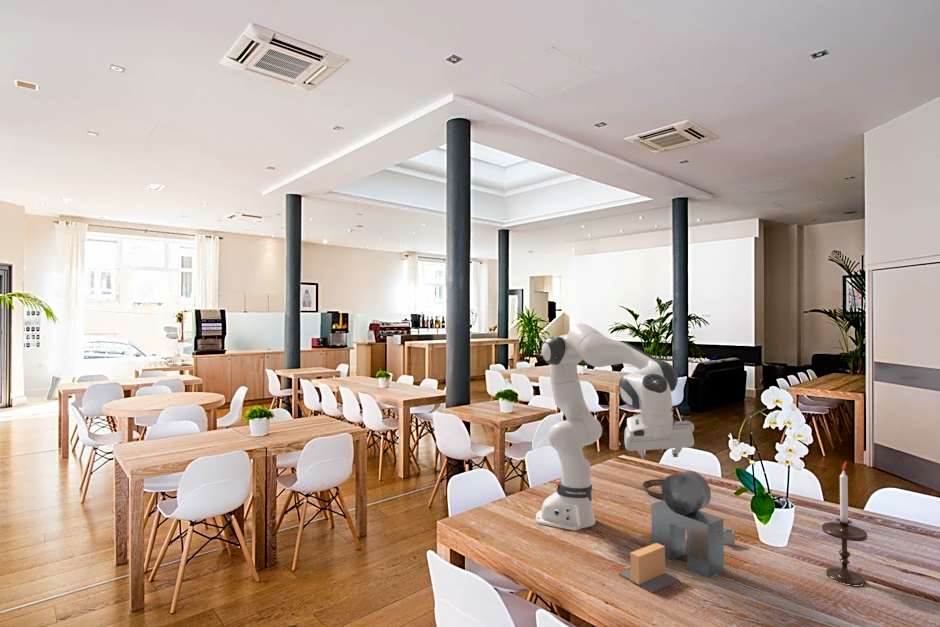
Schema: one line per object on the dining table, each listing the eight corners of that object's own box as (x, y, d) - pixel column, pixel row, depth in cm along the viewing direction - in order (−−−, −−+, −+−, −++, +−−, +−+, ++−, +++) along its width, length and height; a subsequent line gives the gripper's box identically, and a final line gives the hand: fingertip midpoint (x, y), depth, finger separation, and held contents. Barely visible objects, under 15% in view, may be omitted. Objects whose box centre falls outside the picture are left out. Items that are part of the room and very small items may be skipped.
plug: (638, 584, 147) (638, 556, 147) (630, 580, 150) (630, 552, 150) (665, 572, 154) (664, 546, 154) (656, 568, 156) (656, 542, 156)
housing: (708, 578, 151) (707, 484, 151) (651, 552, 168) (651, 467, 168) (723, 571, 156) (722, 479, 156) (667, 546, 172) (666, 463, 173)
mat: (652, 593, 144) (652, 591, 144) (619, 575, 154) (619, 573, 154) (678, 580, 150) (678, 579, 150) (645, 564, 160) (645, 562, 160)
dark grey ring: (636, 495, 222) (636, 488, 222) (649, 482, 239) (649, 475, 239) (686, 505, 210) (686, 497, 210) (696, 491, 227) (696, 483, 227)
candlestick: (877, 584, 147) (876, 463, 147) (849, 590, 144) (848, 467, 144) (840, 567, 158) (839, 454, 158) (813, 572, 155) (812, 457, 155)
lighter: (734, 543, 174) (733, 520, 174) (735, 545, 173) (734, 522, 173) (711, 540, 177) (711, 517, 177) (712, 542, 175) (711, 519, 175)
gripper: (691, 413, 154) (692, 447, 161) (621, 418, 159) (625, 451, 165) (696, 427, 149) (697, 462, 155) (624, 433, 153) (627, 466, 160)
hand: (659, 456), depth 160 cm, fingers open, 8 cm apart
